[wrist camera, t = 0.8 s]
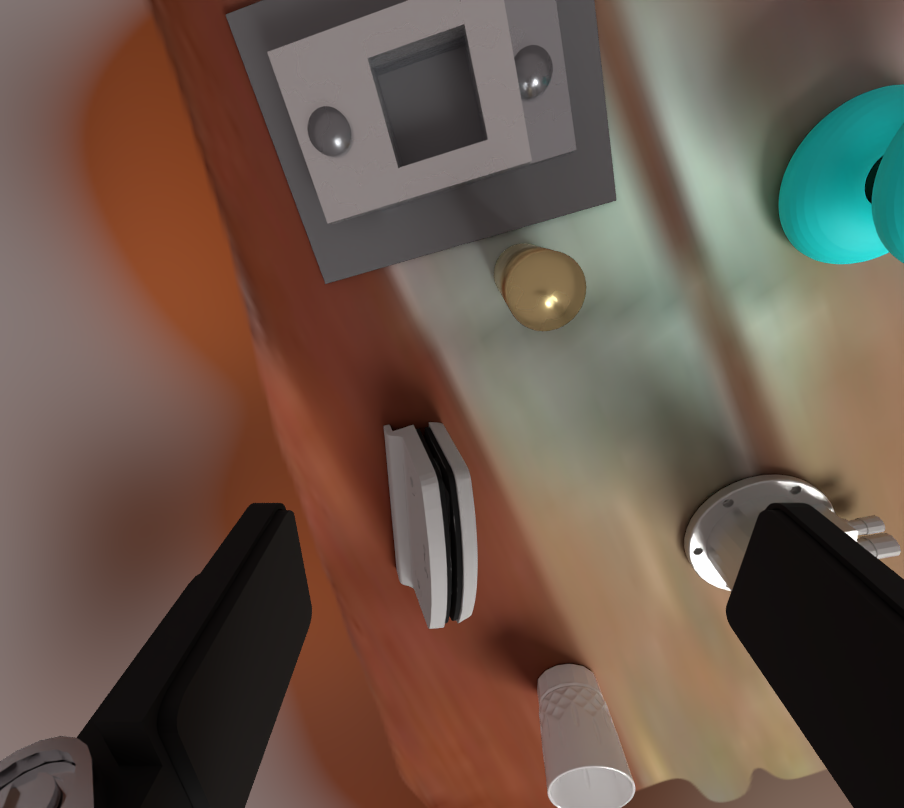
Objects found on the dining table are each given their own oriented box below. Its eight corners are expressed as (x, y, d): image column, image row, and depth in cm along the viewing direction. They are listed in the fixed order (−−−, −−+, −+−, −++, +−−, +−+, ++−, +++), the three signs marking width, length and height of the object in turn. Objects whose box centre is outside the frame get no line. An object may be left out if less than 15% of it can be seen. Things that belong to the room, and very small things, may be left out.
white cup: (536, 709, 50) (553, 818, 40) (526, 663, 47) (542, 771, 38) (604, 701, 49) (637, 811, 40) (598, 654, 46) (632, 762, 37)
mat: (578, -115, 23) (580, -122, 22) (614, 200, 29) (616, 200, 28) (229, 18, 26) (225, 14, 25) (327, 283, 31) (325, 283, 31)
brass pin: (543, 236, 30) (579, 240, 21) (553, 292, 31) (591, 320, 22) (488, 252, 30) (499, 263, 21) (500, 306, 32) (515, 339, 23)
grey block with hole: (545, -22, 24) (558, -61, 21) (570, 153, 27) (585, 143, 24) (288, 70, 26) (263, 48, 23) (340, 224, 29) (325, 223, 26)
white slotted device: (383, 421, 36) (410, 483, 27) (436, 413, 37) (479, 470, 28) (397, 573, 42) (422, 663, 33) (442, 561, 43) (478, 645, 35)
